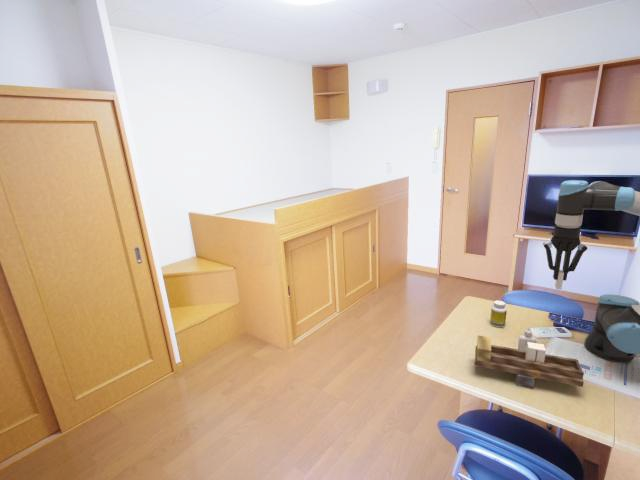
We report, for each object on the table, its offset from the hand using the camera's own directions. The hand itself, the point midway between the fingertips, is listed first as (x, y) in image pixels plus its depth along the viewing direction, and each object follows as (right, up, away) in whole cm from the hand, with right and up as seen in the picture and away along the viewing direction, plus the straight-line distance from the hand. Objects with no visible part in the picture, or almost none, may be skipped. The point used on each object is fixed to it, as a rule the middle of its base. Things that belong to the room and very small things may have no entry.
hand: (558, 287), depth 123 cm
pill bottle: (-5, -22, +33) cm, 40 cm away
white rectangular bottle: (-6, -28, +10) cm, 31 cm away
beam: (-14, -32, -2) cm, 35 cm away
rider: (-12, -26, -5) cm, 29 cm away
